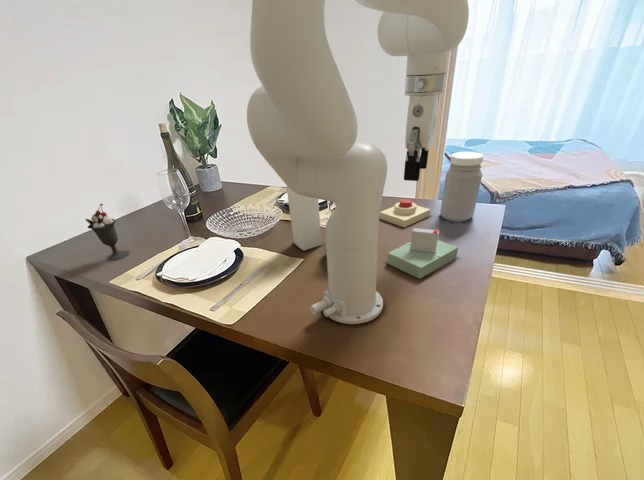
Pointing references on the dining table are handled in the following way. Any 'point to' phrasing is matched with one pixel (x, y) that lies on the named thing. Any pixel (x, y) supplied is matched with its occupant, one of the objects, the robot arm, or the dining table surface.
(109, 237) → the sundae
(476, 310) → the dining table surface
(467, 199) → the jar
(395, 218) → the button box
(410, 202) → the button
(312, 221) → the milk
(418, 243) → the grey rectangular block
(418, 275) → the panel
